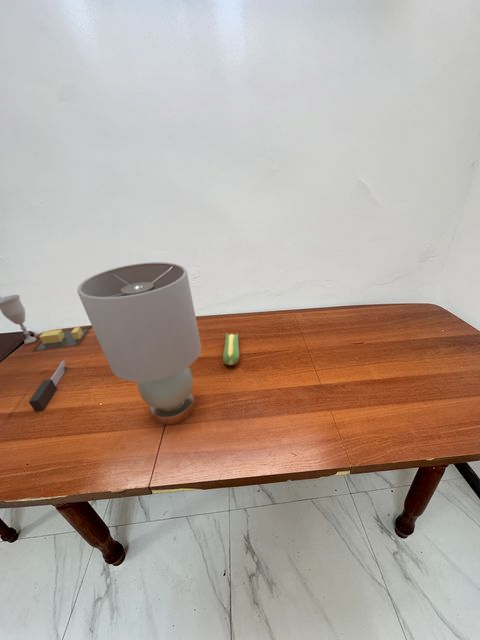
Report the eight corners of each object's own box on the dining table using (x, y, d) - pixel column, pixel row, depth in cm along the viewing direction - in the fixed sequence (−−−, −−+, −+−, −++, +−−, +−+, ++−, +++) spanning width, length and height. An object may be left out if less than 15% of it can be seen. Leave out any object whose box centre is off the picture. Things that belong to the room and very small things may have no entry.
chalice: (27, 350, 106) (0, 304, 96) (16, 347, 108) (-11, 302, 98) (47, 340, 111) (24, 296, 101) (36, 337, 114) (12, 293, 104)
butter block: (43, 343, 106) (39, 336, 104) (47, 338, 109) (44, 331, 108) (60, 341, 107) (57, 334, 105) (65, 336, 110) (61, 329, 109)
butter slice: (74, 339, 107) (70, 332, 106) (77, 334, 111) (74, 327, 109) (79, 339, 108) (76, 332, 106) (83, 333, 111) (80, 326, 109)
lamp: (156, 381, 86) (117, 261, 67) (222, 386, 83) (200, 261, 64) (117, 435, 70) (50, 297, 51) (196, 444, 67) (157, 299, 47)
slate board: (37, 353, 104) (35, 350, 103) (51, 336, 113) (49, 333, 113) (79, 348, 105) (77, 344, 104) (89, 332, 115) (88, 328, 114)
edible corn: (223, 370, 89) (221, 358, 87) (225, 337, 106) (224, 326, 104) (240, 369, 89) (238, 356, 87) (240, 336, 106) (238, 324, 104)
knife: (35, 411, 79) (28, 401, 77) (63, 368, 95) (58, 358, 93) (43, 410, 79) (37, 400, 77) (70, 367, 95) (66, 357, 93)
